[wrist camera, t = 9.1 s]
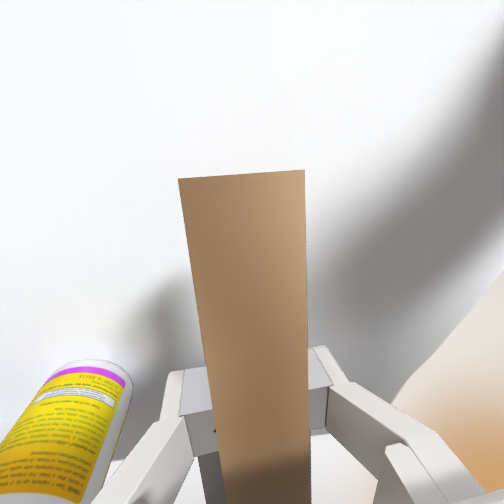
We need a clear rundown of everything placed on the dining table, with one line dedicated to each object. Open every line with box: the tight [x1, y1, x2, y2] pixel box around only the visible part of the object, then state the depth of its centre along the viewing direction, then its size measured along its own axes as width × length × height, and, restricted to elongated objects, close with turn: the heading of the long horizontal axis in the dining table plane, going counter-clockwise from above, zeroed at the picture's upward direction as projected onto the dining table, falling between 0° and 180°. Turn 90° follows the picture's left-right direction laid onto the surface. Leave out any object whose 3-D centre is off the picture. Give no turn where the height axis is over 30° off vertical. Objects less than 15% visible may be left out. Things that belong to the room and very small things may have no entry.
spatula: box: [178, 170, 311, 504], centre depth 8 cm, size 5×16×4 cm, turn 4°
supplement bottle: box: [0, 359, 133, 504], centre depth 15 cm, size 7×7×13 cm
